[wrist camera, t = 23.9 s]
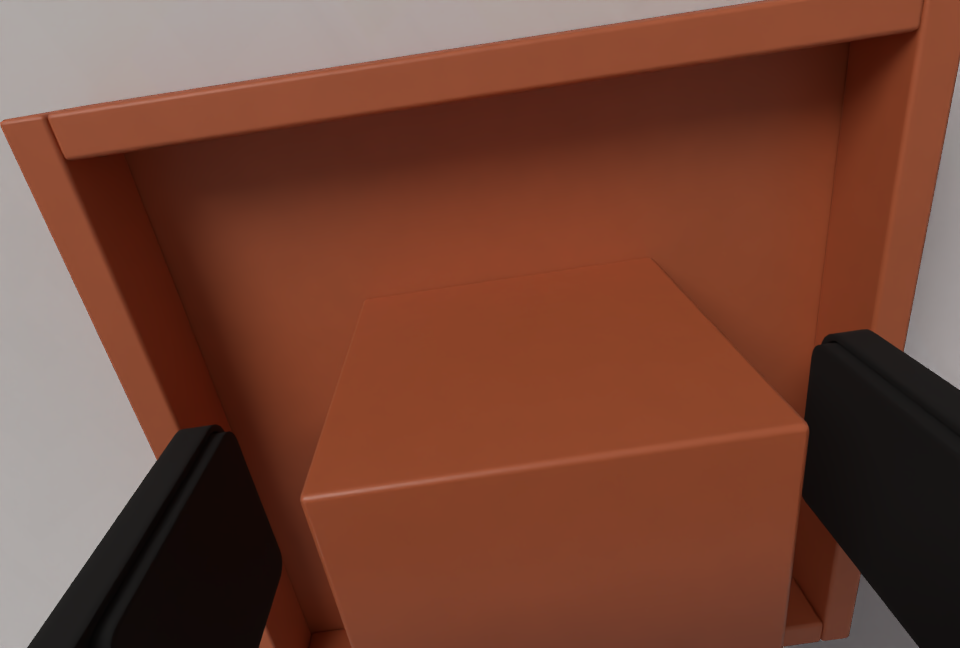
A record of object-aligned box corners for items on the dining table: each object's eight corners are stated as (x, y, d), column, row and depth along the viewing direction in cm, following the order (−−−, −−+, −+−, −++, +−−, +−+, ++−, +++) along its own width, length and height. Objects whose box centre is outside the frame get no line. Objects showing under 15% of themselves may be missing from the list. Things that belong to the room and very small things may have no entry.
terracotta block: (416, 516, 12) (398, 788, 8) (362, 298, 10) (296, 499, 6) (655, 482, 12) (774, 738, 8) (651, 255, 10) (813, 425, 6)
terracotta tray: (297, 633, 14) (276, 718, 13) (83, 105, 9) (-6, 120, 7) (799, 563, 14) (849, 639, 12) (874, -17, 9) (980, -32, 7)
